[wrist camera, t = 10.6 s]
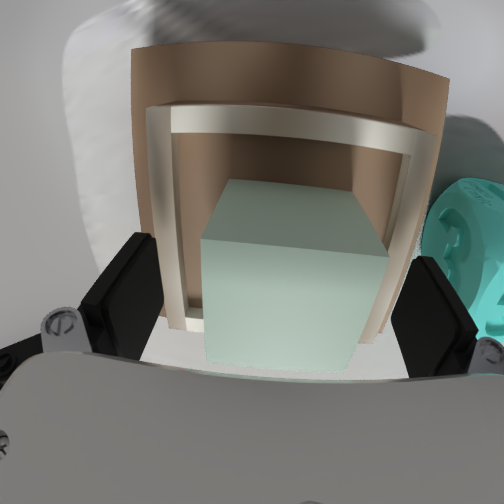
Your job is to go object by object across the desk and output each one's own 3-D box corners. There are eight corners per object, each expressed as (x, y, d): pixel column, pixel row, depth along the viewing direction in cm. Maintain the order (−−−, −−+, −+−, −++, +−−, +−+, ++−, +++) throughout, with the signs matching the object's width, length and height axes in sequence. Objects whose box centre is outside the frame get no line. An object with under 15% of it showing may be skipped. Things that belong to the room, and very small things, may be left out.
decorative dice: (513, 183, 16) (580, 235, 9) (486, 272, 20) (532, 337, 13) (433, 171, 17) (504, 227, 10) (411, 274, 21) (450, 354, 14)
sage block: (352, 191, 12) (390, 257, 8) (329, 289, 14) (344, 373, 10) (229, 178, 12) (200, 238, 8) (226, 280, 15) (206, 362, 10)
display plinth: (425, 77, 14) (492, 83, 8) (372, 305, 22) (393, 374, 17) (153, 52, 14) (90, 44, 8) (167, 289, 23) (138, 355, 17)
